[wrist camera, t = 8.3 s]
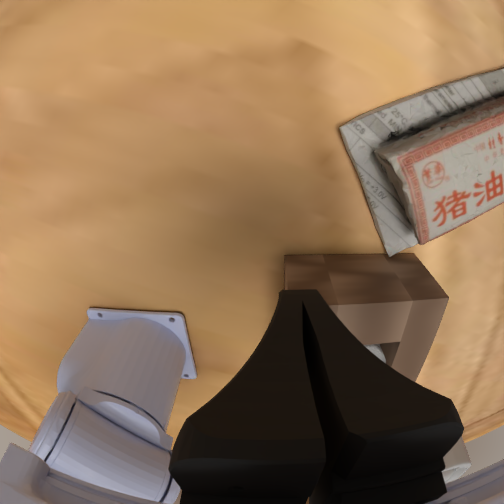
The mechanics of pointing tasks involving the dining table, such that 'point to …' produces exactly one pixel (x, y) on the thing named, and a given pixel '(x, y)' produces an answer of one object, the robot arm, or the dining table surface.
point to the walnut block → (377, 300)
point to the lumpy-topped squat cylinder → (456, 462)
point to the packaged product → (431, 159)
